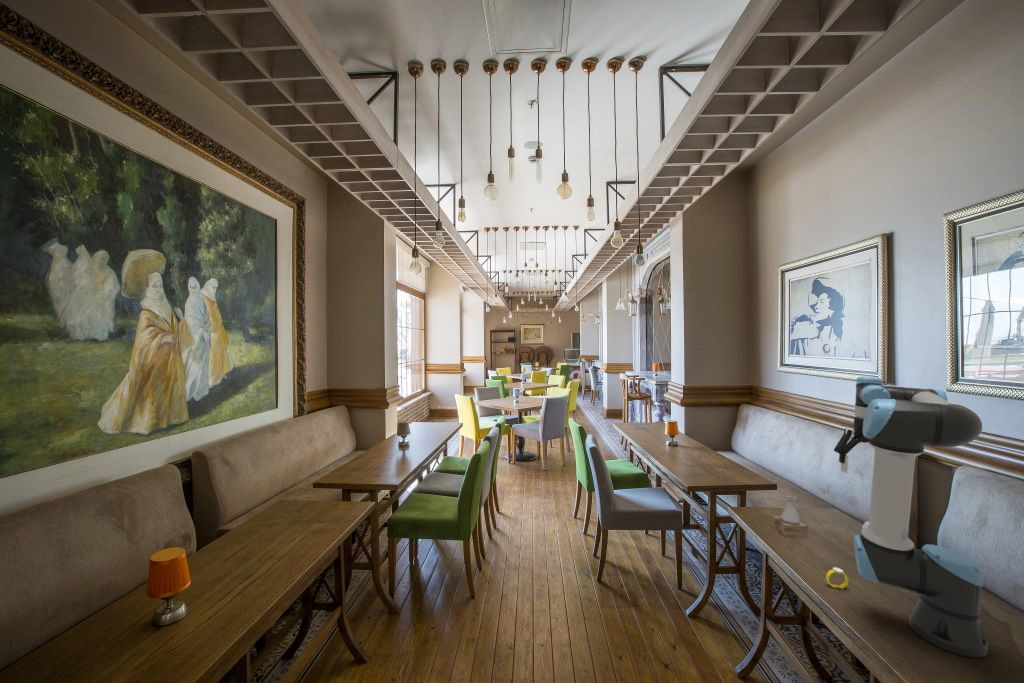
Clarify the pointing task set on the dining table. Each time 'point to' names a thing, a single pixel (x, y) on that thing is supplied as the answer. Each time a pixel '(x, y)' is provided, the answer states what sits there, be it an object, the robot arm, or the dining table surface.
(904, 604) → the dining table surface
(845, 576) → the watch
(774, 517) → the stacked wooden planks
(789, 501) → the flask
